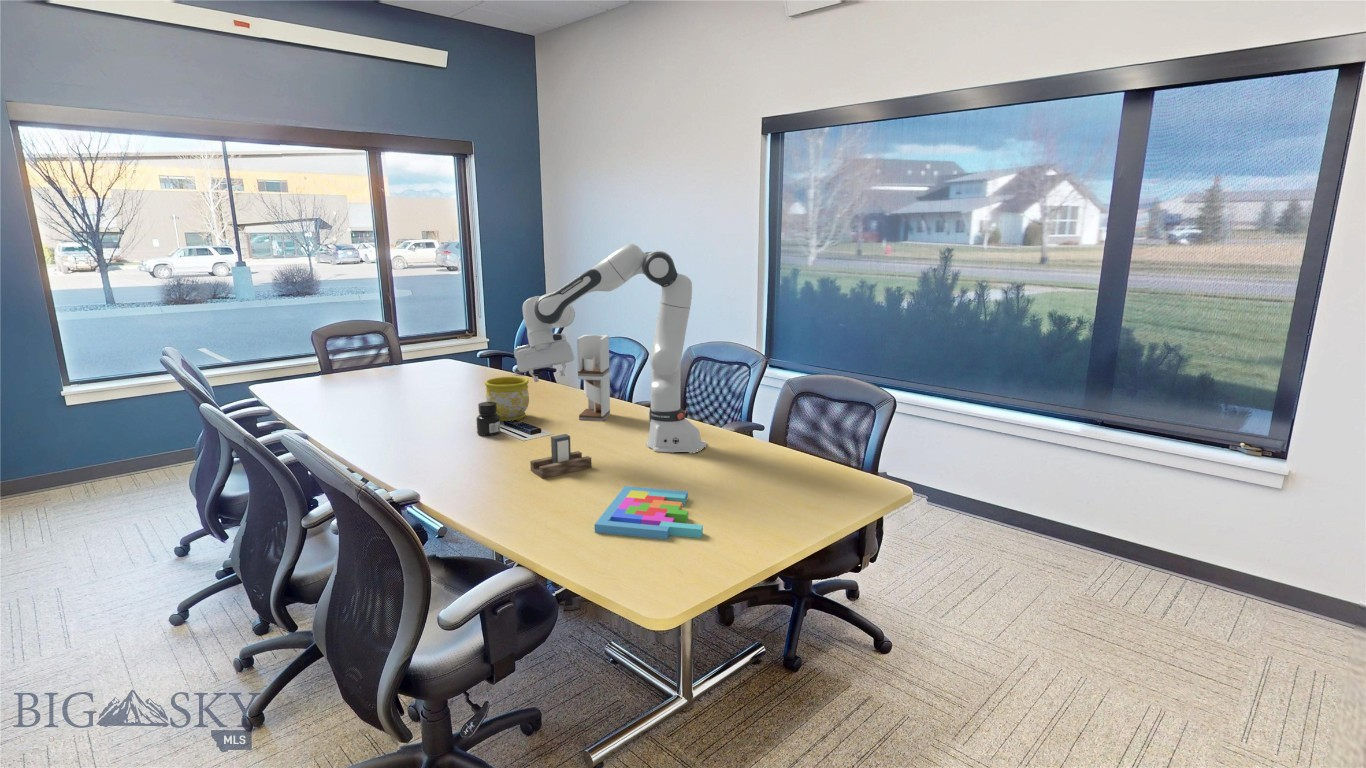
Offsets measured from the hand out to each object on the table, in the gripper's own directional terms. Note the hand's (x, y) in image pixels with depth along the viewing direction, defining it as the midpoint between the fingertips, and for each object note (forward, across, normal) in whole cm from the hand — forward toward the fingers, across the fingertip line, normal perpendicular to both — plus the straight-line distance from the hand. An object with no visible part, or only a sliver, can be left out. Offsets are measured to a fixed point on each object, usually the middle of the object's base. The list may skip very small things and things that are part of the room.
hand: (549, 378), depth 235 cm
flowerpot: (+4, -23, +53) cm, 58 cm away
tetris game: (+54, +23, -48) cm, 76 cm away
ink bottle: (+11, -29, +32) cm, 45 cm away
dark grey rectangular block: (+31, -2, -10) cm, 33 cm away
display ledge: (+32, -2, -10) cm, 34 cm away
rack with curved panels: (+12, +13, +52) cm, 55 cm away
